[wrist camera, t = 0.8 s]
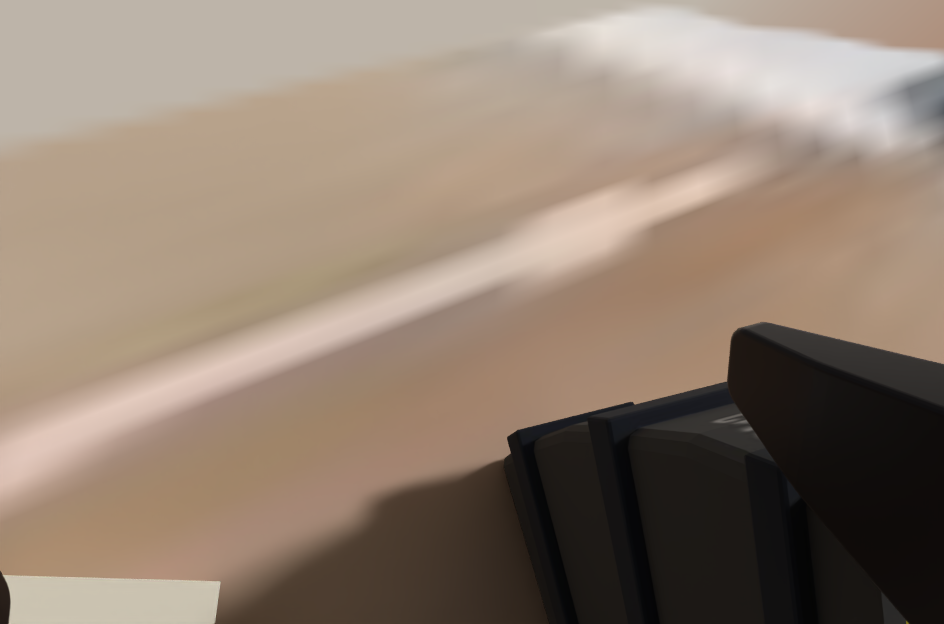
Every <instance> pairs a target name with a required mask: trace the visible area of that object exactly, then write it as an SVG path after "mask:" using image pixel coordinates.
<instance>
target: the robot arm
mask: <svg viewBox="0 0 944 624" xmlns="http://www.w3.org/2000/svg"><path fill="white" fill-rule="evenodd" d="M727 384H728V390H729V393H730V396H731V398H732V400H733V401H734V403H735V404H736V406H737V407H738V409H739V410H740V412H741V413H742V414H743V416H744V417H745V419H746V420H747V422H748V423H749V425H750V426H751V427H752V429H753V430H754V432H755V433H756V435H757V436H758V438H759V439H760V441H761V442H762V443H763V445H764V446H765V448H766V449H767V451H768V452H769V454H770V455H771V456H772V458H773V459H774V461H775V462H776V464H777V465H778V467H779V468H780V469H781V471H782V472H783V474H784V475H785V477H786V478H787V479H788V481H789V482H790V483H791V485H792V486H793V487H794V489H795V490H796V491H797V493H798V494H799V495H800V496H801V497H802V499H803V500H804V501H805V502H806V504H807V505H808V506H809V507H810V508H811V510H812V511H813V512H814V513H815V514H816V515H817V517H818V518H819V519H820V520H821V521H822V522H823V524H824V525H825V526H826V527H827V528H828V529H829V531H830V532H831V533H832V534H833V535H834V537H835V538H836V539H837V540H838V541H839V542H840V544H841V545H842V546H843V547H844V548H845V549H846V551H847V552H848V553H849V554H850V555H851V556H852V558H853V559H854V560H855V561H856V562H857V564H858V565H859V566H860V567H861V568H862V569H863V571H864V572H865V573H866V574H867V575H868V576H869V578H870V579H871V580H872V581H873V582H874V583H875V585H876V586H877V587H878V588H879V589H880V590H881V592H882V593H883V594H884V595H885V596H886V598H887V599H888V600H889V601H890V602H891V603H892V605H893V606H894V607H895V608H896V609H897V610H898V612H899V613H900V614H901V615H902V616H903V617H904V619H905V620H906V621H907V622H908V623H909V624H944V364H941V363H936V362H932V361H928V360H924V359H920V358H915V357H911V356H907V355H903V354H899V353H894V352H890V351H886V350H882V349H877V348H873V347H869V346H865V345H861V344H856V343H852V342H848V341H844V340H840V339H835V338H831V337H827V336H823V335H818V334H814V333H810V332H806V331H802V330H797V329H793V328H789V327H785V326H781V325H776V324H772V323H767V322H760V323H757V324H753V325H749V326H745V327H741V328H738V329H737V330H736V331H735V332H734V333H733V335H732V337H731V344H730V356H729V367H728V378H727ZM10 605H11V600H10V592H9V588H8V584H7V582H6V580H5V578H4V576H3V575H2V573H1V571H0V624H9V616H10Z"/></svg>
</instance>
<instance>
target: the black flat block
mask: <svg viewBox="0 0 944 624" xmlns="http://www.w3.org/2000/svg"><path fill="white" fill-rule="evenodd" d="M507 440H508V444H509V447H510V451H511V454H510V455H508V456H507V457H506V458H505V459H504V469H505V473H506V476H507V480H508V483H509V487H510V490H511V493H512V497H513V500H514V504H515V507H516V511H517V514H518V517H519V521H520V524H521V528H522V531H523V534H524V538H525V541H526V545H527V548H528V552H529V555H530V558H531V562H532V565H533V569H534V572H535V576H536V579H537V582H538V586H539V589H540V593H541V596H542V600H543V603H544V606H545V610H546V613H547V617H548V620H549V624H909V623H908V622H907V621H906V620H905V619H904V617H903V616H902V615H901V614H900V613H899V612H898V610H897V609H896V608H895V607H894V606H893V605H892V603H891V602H890V601H889V600H888V599H887V598H886V596H885V595H884V594H883V593H882V592H881V590H880V589H879V588H878V587H877V586H876V585H875V583H874V582H873V581H872V580H871V579H870V578H869V576H868V575H867V574H866V573H865V572H864V571H863V569H862V568H861V567H860V566H859V565H858V564H857V562H856V561H855V560H854V559H853V558H852V556H851V555H850V554H849V553H848V552H847V551H846V549H845V548H844V547H843V546H842V545H841V544H840V542H839V541H838V540H837V539H836V538H835V537H834V535H833V534H832V533H831V532H830V531H829V529H828V528H827V527H826V526H825V525H824V524H823V522H822V521H821V520H820V519H819V518H818V517H817V515H816V514H815V513H814V512H813V511H812V510H811V508H810V507H809V506H808V505H807V504H806V502H805V501H804V500H803V499H802V497H801V496H800V495H799V494H798V493H797V491H796V490H795V489H794V487H793V486H792V485H791V483H790V482H789V481H788V479H787V478H786V477H785V475H784V474H783V472H782V471H781V469H780V468H779V467H778V465H777V464H776V462H775V461H774V459H773V458H772V456H771V455H770V454H769V452H768V451H767V449H766V448H765V446H764V445H763V443H762V442H761V441H760V439H759V438H758V436H757V435H756V433H755V432H754V430H753V429H752V427H751V426H750V425H749V423H748V422H747V420H746V419H745V417H744V416H743V414H742V413H741V412H740V410H739V409H738V407H737V406H736V404H735V403H734V401H733V400H732V398H731V396H730V393H729V390H728V384H727V382H723V383H719V384H715V385H711V386H707V387H703V388H699V389H695V390H691V391H687V392H684V393H680V394H676V395H672V396H668V397H664V398H660V399H656V400H652V401H648V402H644V403H640V404H636V405H634V403H633V402H628V403H624V404H620V405H616V406H612V407H608V408H604V409H600V410H596V411H592V412H588V413H584V414H580V415H576V416H572V417H568V418H564V419H560V420H556V421H552V422H548V423H544V424H540V425H536V426H532V427H528V428H524V429H520V430H517V431H516V432H514V433H513V434H511V435H510V436H508V437H507Z"/></svg>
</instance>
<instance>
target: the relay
mask: <svg viewBox="0 0 944 624" xmlns="http://www.w3.org/2000/svg"><path fill="white" fill-rule="evenodd" d="M3 576H4V578H5V580H6V582H7V584H8V588H9V592H10V600H11V605H10V616H9V624H215V618H216V611H217V604H218V597H219V590H220V582H221V581H188V580H152V579H116V578H80V577H45V576H9V575H3Z"/></svg>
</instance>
